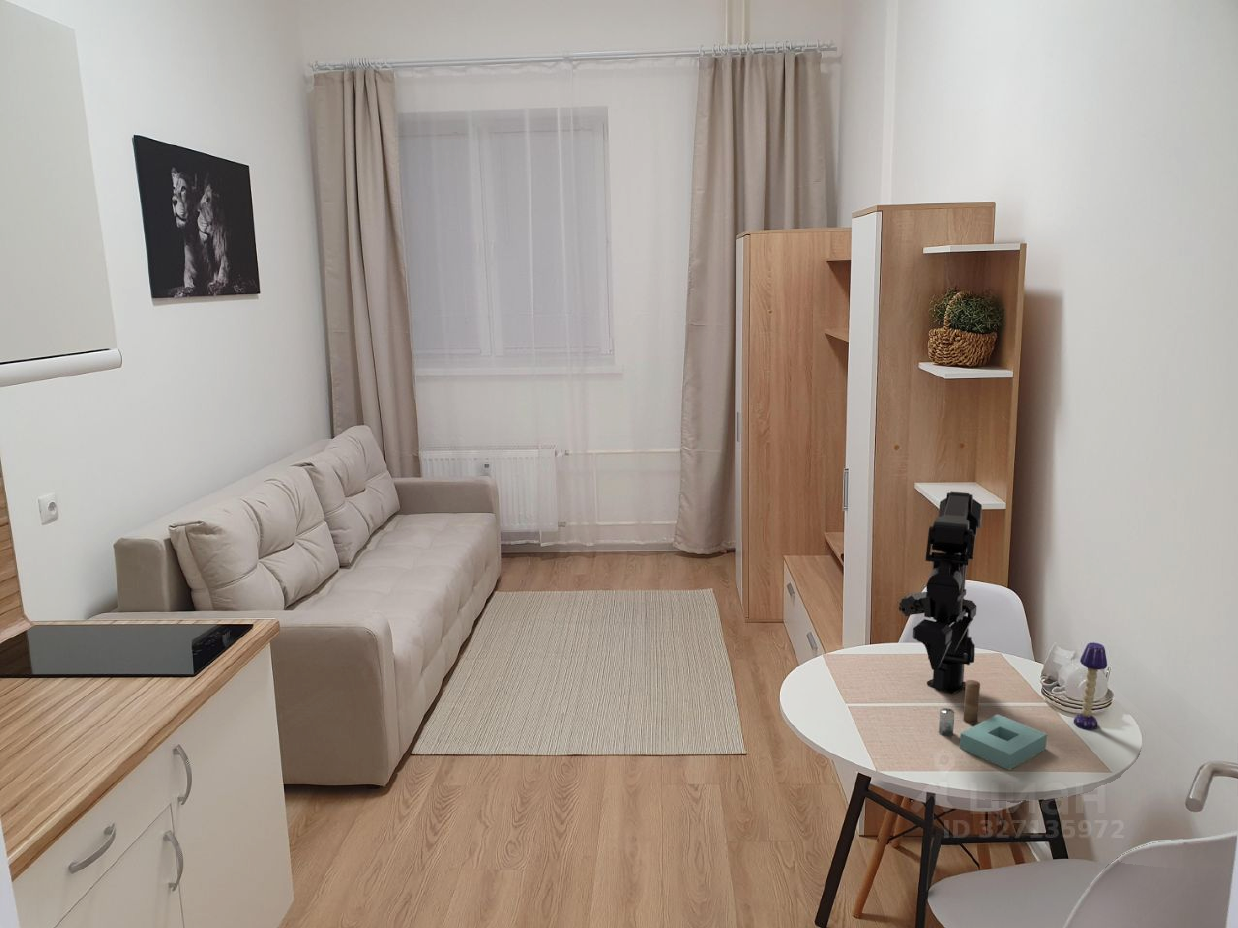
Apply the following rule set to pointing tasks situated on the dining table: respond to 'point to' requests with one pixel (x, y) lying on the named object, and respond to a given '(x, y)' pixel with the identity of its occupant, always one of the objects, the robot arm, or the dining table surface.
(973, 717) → the walnut dowel
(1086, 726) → the toy lamp
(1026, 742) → the collar block
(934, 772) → the dining table surface
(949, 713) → the grey stub
